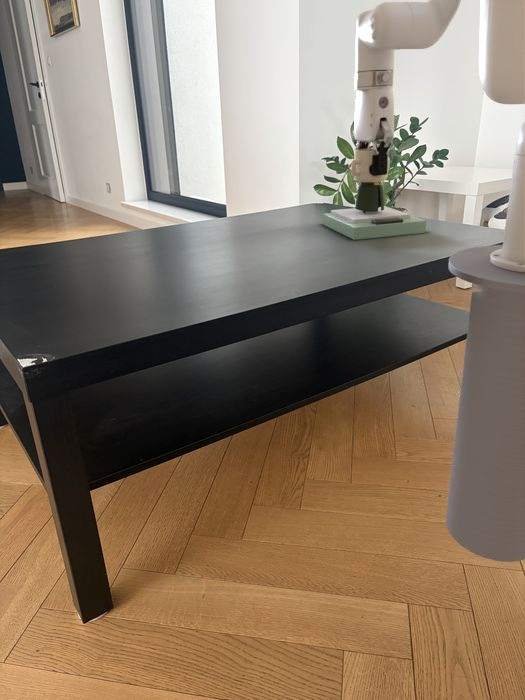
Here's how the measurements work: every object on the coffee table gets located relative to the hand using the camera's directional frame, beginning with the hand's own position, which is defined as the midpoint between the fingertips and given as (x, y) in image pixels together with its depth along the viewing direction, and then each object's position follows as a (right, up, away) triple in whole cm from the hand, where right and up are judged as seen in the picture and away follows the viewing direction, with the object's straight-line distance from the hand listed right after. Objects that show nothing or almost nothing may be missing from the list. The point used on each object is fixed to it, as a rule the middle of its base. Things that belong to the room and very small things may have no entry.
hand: (370, 172), depth 118 cm
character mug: (0, -8, +3) cm, 9 cm away
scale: (+1, -11, +3) cm, 12 cm away
